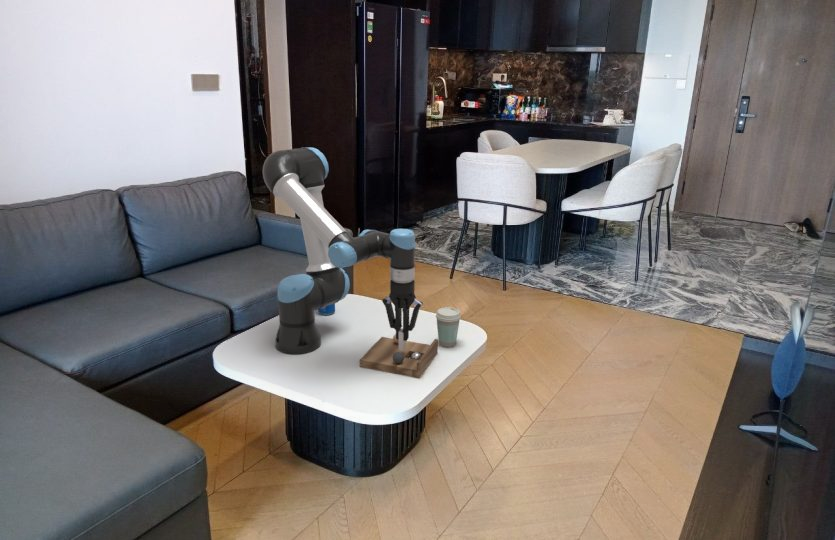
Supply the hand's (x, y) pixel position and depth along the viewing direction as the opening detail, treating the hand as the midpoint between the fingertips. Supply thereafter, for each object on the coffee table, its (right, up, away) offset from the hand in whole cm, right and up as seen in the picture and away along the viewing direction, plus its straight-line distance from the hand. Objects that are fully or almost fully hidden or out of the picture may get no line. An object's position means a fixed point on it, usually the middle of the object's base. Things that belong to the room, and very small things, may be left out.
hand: (402, 348), depth 187 cm
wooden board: (-1, -4, +2) cm, 4 cm away
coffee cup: (+15, 0, +14) cm, 20 cm away
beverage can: (-30, +9, +37) cm, 49 cm away
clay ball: (-1, +3, +7) cm, 8 cm away
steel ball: (+4, -3, -1) cm, 5 cm away
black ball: (-1, -2, -6) cm, 6 cm away
